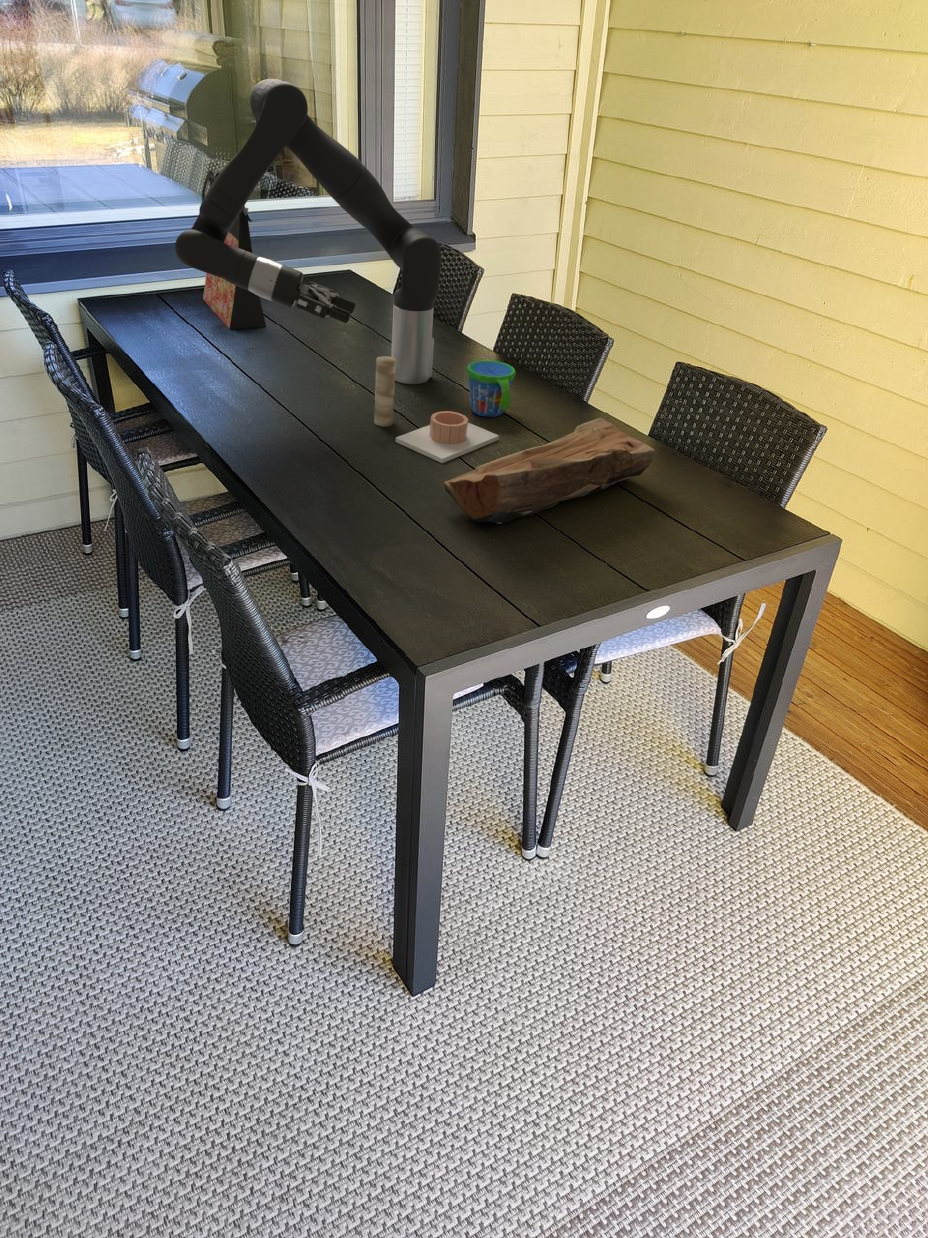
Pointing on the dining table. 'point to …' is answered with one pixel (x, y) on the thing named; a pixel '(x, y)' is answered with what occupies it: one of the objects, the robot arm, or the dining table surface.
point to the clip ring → (448, 427)
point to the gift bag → (227, 298)
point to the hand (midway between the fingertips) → (351, 313)
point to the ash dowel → (384, 391)
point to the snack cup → (490, 387)
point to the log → (550, 473)
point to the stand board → (446, 452)
